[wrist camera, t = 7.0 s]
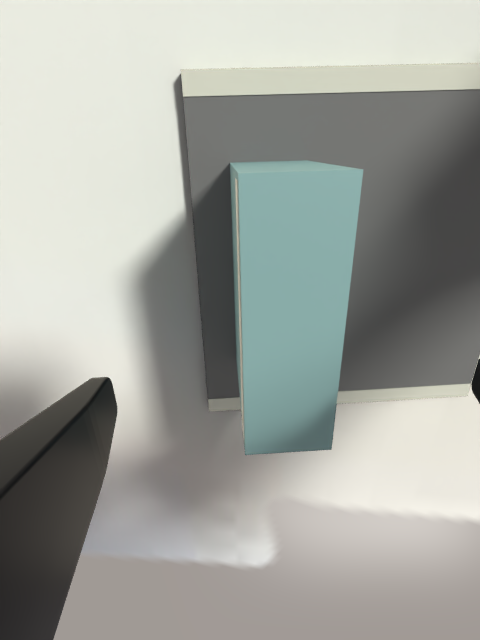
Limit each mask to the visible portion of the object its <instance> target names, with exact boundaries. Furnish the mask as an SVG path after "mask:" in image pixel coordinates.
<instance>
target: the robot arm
mask: <svg viewBox="0 0 480 640" xmlns="http://www.w3.org/2000/svg"><path fill="white" fill-rule="evenodd" d="M472 391H473V393H474V395H475V397H476V398H477V400H478V402H479V403H480V359H479V360H478V363H477V367H476V370H475V373H474V377H473V380H472ZM116 417H117V403H116V399H115V394H114V390H113V385H112V382H111V380H110V378H108V377H100V378H91V379H89V380H88V381H86V382H85V383H83V384H82V385H81V386H79V387H78V388H76V389H75V390H73V391H72V392H70V393H69V394H67V395H66V396H64V397H63V398H61V399H60V400H58V401H57V402H55V403H54V404H53V405H51V406H50V407H48V408H47V409H45V410H44V411H42V412H41V413H39V414H38V415H36V416H35V417H33V418H32V419H30V420H29V421H27V422H26V423H25V424H23V425H22V426H20V427H19V428H17V429H16V430H14V431H13V432H11V433H10V434H8V435H7V436H5V437H4V438H2V439H1V440H0V640H53V638H54V635H55V632H56V629H57V626H58V623H59V619H60V616H61V613H62V610H63V607H64V603H65V600H66V597H67V594H68V591H69V588H70V585H71V582H72V578H73V575H74V572H75V569H76V566H77V563H78V560H79V556H80V553H81V550H82V547H83V544H84V541H85V537H86V534H87V531H88V528H89V525H90V522H91V519H92V515H93V512H94V509H95V506H96V503H97V500H98V496H99V493H100V490H101V487H102V484H103V480H104V477H105V473H106V469H107V464H108V459H109V454H110V448H111V443H112V438H113V433H114V428H115V422H116Z"/></svg>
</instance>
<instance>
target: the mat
mask: <svg viewBox="0 0 480 640" xmlns="http://www.w3.org/2000/svg"><path fill="white" fill-rule="evenodd" d="M181 79H182V91H183V102H184V114H185V126H186V138H187V150H188V163H189V175H190V187H191V199H192V211H193V223H194V235H195V247H196V260H197V272H198V284H199V296H200V308H201V320H202V332H203V345H204V357H205V369H206V381H207V393H208V406H209V412H214V411H231V410H241V404H240V393H239V382H238V372H237V360H236V330H235V301H234V271H233V241H232V212H231V182H230V163H236V162H270V161H304V160H308V161H314V162H320V163H326V164H332V165H339V166H345V167H351V168H357V169H363V178H362V186H361V195H360V204H359V213H358V221H357V230H356V239H355V248H354V256H353V265H352V274H351V282H350V291H349V300H348V309H347V317H346V326H345V335H344V344H343V352H342V361H341V370H340V379H339V387H338V396H337V404H346V403H362V402H379V401H395V400H412V399H428V398H445V397H461V396H468V393H469V390H470V387H471V381H472V378H473V375H474V371H475V368H476V365H477V361H478V358H479V355H480V63H452V64H407V65H362V66H318V67H273V68H228V69H183V70H181Z"/></svg>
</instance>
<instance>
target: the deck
mask: <svg viewBox="0 0 480 640" xmlns="http://www.w3.org/2000/svg"><path fill="white" fill-rule="evenodd" d="M362 178H363V169H357V168H351V167H345V166H339V165H332V164H326V163H320V162H314V161H308V160H304V161H270V162H236V163H230V182H231V212H232V241H233V271H234V301H235V330H236V360H237V372H238V382H239V393H240V404H241V415H242V428H243V439H244V447H245V455H253V454H268V453H284V452H300V451H316V450H331V448H332V440H333V431H334V422H335V413H336V405H337V396H338V387H339V379H340V370H341V361H342V352H343V344H344V335H345V326H346V317H347V309H348V300H349V291H350V282H351V274H352V265H353V256H354V248H355V239H356V230H357V221H358V213H359V204H360V195H361V186H362Z"/></svg>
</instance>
